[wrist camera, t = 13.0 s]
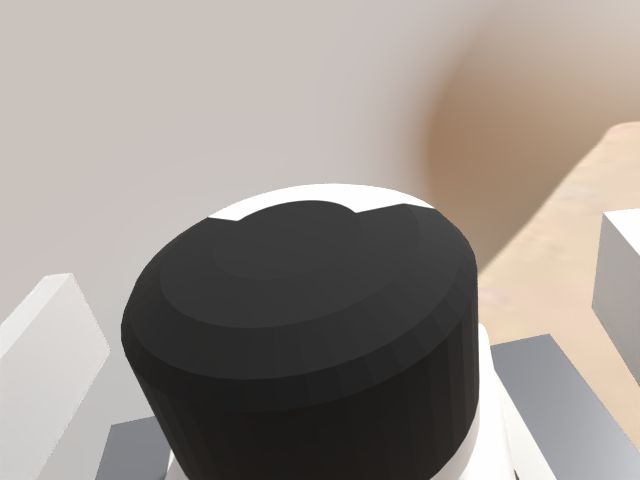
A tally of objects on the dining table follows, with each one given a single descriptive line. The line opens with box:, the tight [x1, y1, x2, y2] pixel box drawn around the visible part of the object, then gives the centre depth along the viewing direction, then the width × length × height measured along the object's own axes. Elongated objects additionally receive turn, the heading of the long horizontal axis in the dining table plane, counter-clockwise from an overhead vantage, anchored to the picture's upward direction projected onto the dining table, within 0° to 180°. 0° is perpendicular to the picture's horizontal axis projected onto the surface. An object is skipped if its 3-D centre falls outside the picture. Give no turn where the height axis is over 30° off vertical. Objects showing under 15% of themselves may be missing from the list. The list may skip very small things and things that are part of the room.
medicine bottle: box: [121, 184, 516, 480], centre depth 12 cm, size 7×7×12 cm
